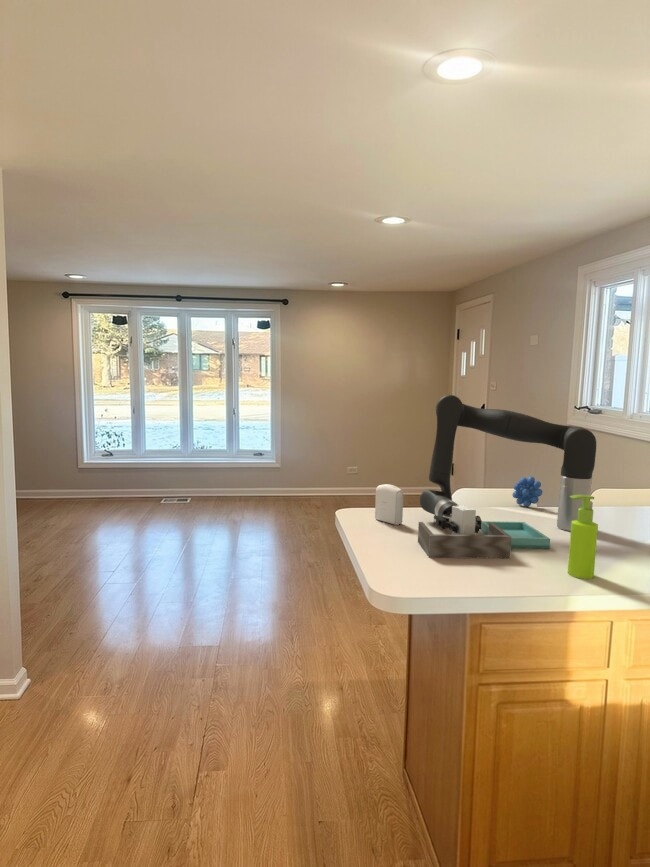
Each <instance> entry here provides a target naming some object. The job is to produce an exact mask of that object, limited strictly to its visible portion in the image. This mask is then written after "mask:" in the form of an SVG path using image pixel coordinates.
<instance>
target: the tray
mask: <svg viewBox="0 0 650 867" xmlns="http://www.w3.org/2000/svg"><path fill="white" fill-rule="evenodd" d="M489 523H494V524H495V525H496V526H498V527H499V528H500V529H502V530H503V531H504V532H506V533H507V534H508V535H510V536H511V549H517V550H518V549H519V550H520V549H522V550H523V549H524V550H525V549H526V550H527V549H529V550H530V549H531V550H537V549H538V550H540V549H541V550H550V549H551V548H550V547H551V538H550V537H548V536H546V535H545V534H544V533H543V532H540V531H539V530H537V529H536V528H534V527H533V526H531V525H529V524H528V523H526V522H525V521H499V520H498V521H494V520H493V521H491V520H489V521H488V520H485V521H484V520H482V522H481V529H480V530H479V532H482V533H483V535H488V533H489Z"/></svg>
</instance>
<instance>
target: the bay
mask: <svg viewBox="0 0 650 867" xmlns="http://www.w3.org/2000/svg"><path fill="white" fill-rule="evenodd" d="M417 543H418V545H419V546H420V548H421V549H422V550H423V551H424V552H425V555H426V556H427V557H428V558H433V559H434V558H435V559H436V558H438V559H439V558H440V559H442V558H445V557H446V558H445V559H451V558H452V559H511V549H512V548H511V536H510V535H508V534H507V533H506V532H504V531H503V530H502V529H500V528H499V527H498V526H496V525H495V524H494V523H489V533H488V535H485V534H475V535H452V534H447V533H446V534H445V533H444V534H438V533H436V534H435V533H433V532H432V531H431V529H430V528H428V525H426V523H425V522H423V521H418V530H417Z"/></svg>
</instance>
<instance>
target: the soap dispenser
mask: <svg viewBox="0 0 650 867" xmlns="http://www.w3.org/2000/svg"><path fill="white" fill-rule="evenodd" d="M569 497H570V498H572V499H574V500H576V499H583V503H582V507H580V508H578V518H577V520H573V521H572V522H571V531H570V538H569V548H568V563H567V564H568V565H567V574H569V575H570V576H572V577H574V578H577V579H583V580H584V579H585V580H590V579H593V578H594V576H595V566H596V565H595V564H596V556H597V555H596V554H597V543H598V542H597V541H598V528H599V524H598V523H597V522H594V520H593V519H594V509H593V508H592V509H591V508H590V501H591V500H595V496H592V495H573V496H569Z"/></svg>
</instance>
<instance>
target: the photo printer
mask: <svg viewBox="0 0 650 867" xmlns="http://www.w3.org/2000/svg"><path fill="white" fill-rule="evenodd" d="M374 499H375V501H374V502H375V503H374V505H375V506H374V509H375V510H374V519H376V520H377V521H381V522H384V523H389V524H390V525H391V524H392V525H395V526H398V525H399V524H400V525H401V524H403V516H404V514H403V513H404V512H403V510H404V492H403V490H402V489H401V488H399V487H398V486H396V485H393V484H389V483H388V484H387V483H386V484H380V485H378V486H376V489H375V498H374Z"/></svg>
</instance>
